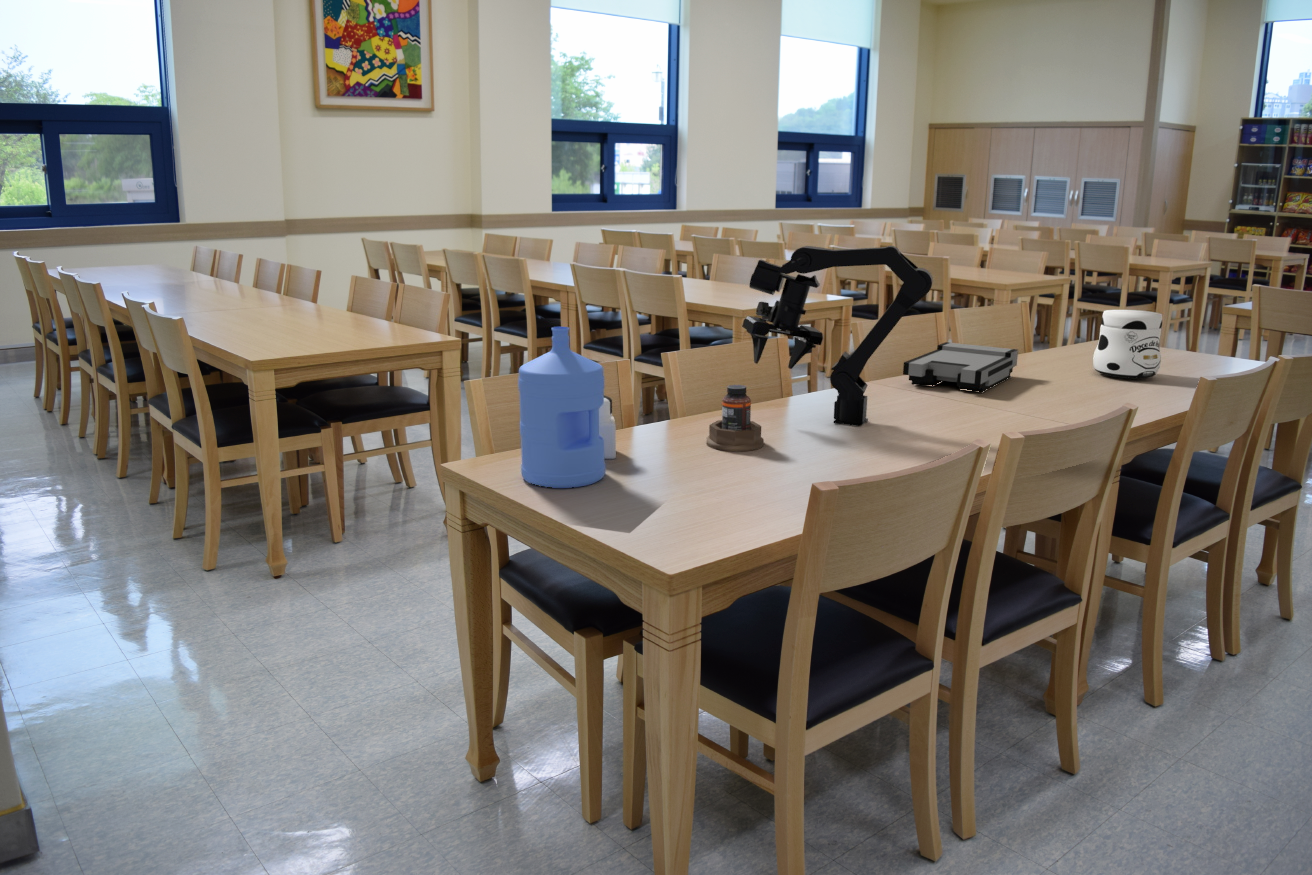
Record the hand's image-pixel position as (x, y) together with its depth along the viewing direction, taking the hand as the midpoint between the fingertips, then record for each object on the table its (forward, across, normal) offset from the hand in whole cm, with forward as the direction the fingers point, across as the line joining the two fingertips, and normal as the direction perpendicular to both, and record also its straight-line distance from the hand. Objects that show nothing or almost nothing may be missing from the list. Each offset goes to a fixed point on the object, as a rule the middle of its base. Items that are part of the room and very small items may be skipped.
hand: (772, 365), depth 225 cm
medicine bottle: (+19, +45, +19) cm, 52 cm away
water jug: (+19, +56, +31) cm, 66 cm away
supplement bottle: (+12, +16, +21) cm, 29 cm away
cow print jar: (-10, -118, -8) cm, 119 cm away
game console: (+1, -70, -16) cm, 71 cm away
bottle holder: (+12, +16, +21) cm, 29 cm away
